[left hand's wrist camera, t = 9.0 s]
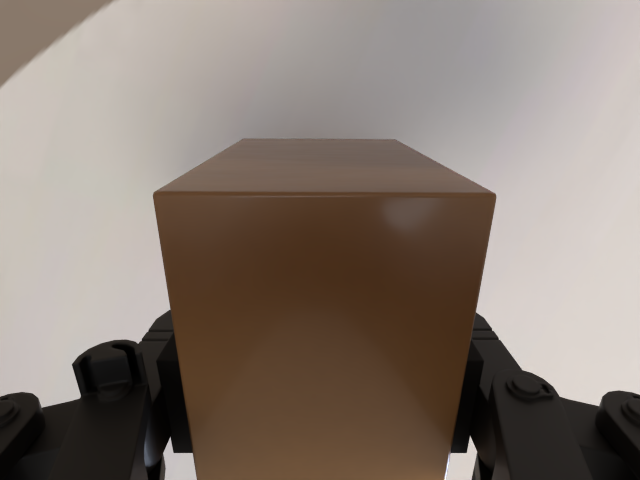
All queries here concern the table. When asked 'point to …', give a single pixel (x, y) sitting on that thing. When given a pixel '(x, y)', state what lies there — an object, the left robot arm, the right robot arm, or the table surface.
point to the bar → (322, 307)
